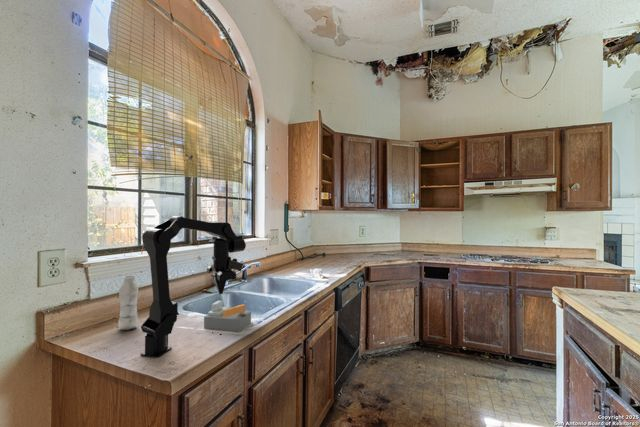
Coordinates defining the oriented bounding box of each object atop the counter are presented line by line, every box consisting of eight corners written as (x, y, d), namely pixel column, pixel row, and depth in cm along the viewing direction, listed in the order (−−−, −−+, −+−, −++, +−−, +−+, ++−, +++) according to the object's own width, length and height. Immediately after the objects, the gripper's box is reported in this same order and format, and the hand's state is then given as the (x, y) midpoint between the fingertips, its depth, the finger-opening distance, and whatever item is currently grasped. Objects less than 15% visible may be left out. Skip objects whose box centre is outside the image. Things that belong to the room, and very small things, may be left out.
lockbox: (240, 331, 111) (240, 319, 111) (203, 328, 114) (204, 316, 114) (251, 322, 121) (251, 311, 121) (217, 319, 124) (217, 308, 124)
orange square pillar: (245, 314, 117) (245, 304, 117) (225, 320, 109) (225, 310, 109) (242, 313, 118) (242, 304, 118) (222, 319, 110) (222, 309, 110)
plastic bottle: (122, 333, 108) (122, 279, 108) (115, 329, 112) (116, 276, 112) (141, 328, 113) (142, 276, 113) (134, 324, 117) (134, 274, 117)
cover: (219, 316, 115) (219, 305, 115) (207, 315, 116) (208, 304, 116) (228, 310, 122) (228, 300, 122) (217, 309, 122) (217, 299, 122)
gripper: (249, 255, 112) (249, 296, 112) (233, 250, 127) (233, 285, 127) (220, 258, 106) (219, 301, 106) (206, 251, 121) (206, 289, 121)
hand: (220, 293), depth 115 cm, fingers closed
